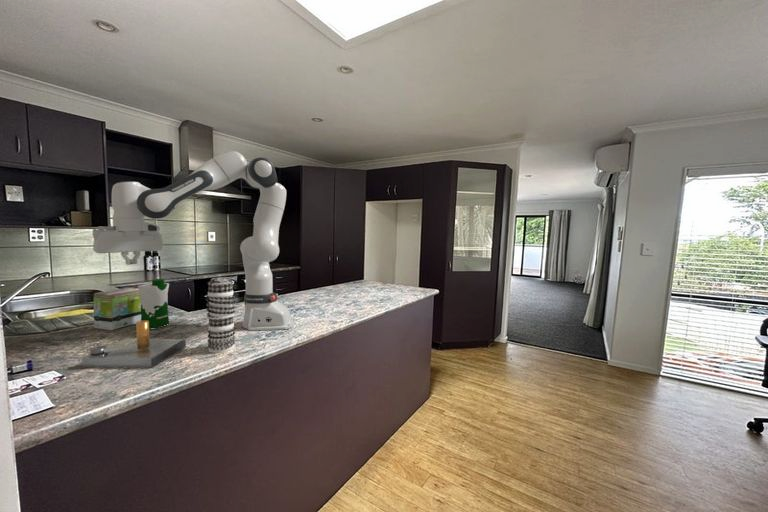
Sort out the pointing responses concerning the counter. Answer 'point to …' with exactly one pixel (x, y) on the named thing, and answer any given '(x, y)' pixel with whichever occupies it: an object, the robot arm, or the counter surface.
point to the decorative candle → (220, 315)
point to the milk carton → (154, 303)
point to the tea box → (117, 308)
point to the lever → (142, 343)
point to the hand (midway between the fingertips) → (131, 264)
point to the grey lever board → (136, 354)
